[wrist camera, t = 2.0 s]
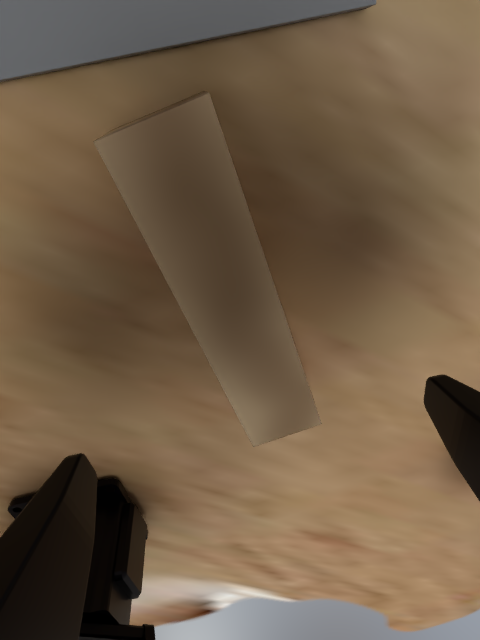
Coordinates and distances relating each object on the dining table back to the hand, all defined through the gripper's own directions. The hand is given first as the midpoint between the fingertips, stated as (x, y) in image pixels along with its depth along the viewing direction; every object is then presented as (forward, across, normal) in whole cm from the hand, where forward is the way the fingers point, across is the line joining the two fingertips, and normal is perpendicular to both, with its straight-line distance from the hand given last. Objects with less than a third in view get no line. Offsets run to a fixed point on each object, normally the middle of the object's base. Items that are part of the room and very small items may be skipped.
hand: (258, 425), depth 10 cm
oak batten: (+8, 0, 0) cm, 8 cm away
